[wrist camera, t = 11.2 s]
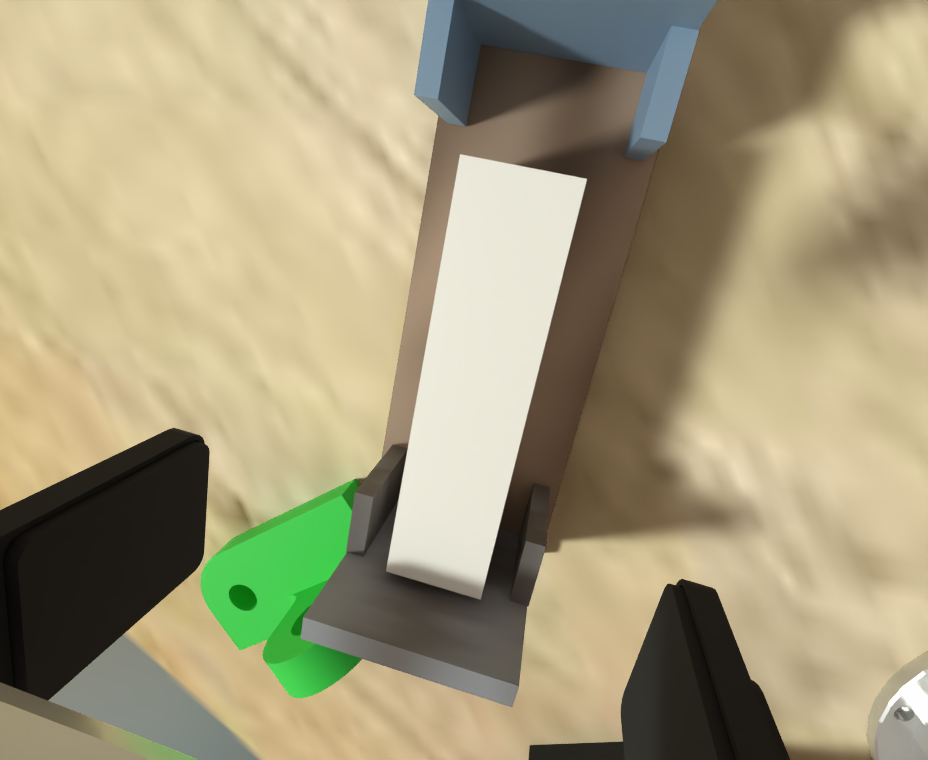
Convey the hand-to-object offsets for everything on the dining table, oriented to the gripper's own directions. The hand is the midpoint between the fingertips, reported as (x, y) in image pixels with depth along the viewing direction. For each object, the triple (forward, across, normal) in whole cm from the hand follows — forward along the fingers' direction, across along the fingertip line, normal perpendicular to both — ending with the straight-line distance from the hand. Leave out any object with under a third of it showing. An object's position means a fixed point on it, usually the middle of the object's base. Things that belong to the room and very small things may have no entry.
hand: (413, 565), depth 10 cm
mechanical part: (+16, +9, +14) cm, 24 cm away
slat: (+15, +1, 0) cm, 15 cm away
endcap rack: (+16, +1, -2) cm, 16 cm away
